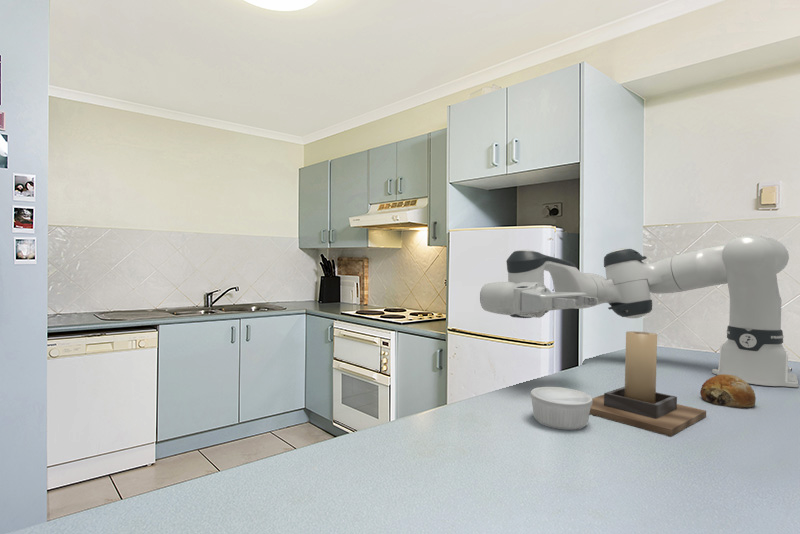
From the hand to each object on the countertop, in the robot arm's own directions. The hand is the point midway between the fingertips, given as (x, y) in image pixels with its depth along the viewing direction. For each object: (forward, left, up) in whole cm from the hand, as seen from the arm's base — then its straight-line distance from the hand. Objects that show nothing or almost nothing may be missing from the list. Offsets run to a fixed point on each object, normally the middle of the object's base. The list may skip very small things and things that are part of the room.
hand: (586, 302), depth 105 cm
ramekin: (+21, +7, -22) cm, 31 cm away
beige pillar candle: (+3, +14, -20) cm, 24 cm away
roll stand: (+3, +14, -21) cm, 25 cm away
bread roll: (-22, +22, -22) cm, 38 cm away
